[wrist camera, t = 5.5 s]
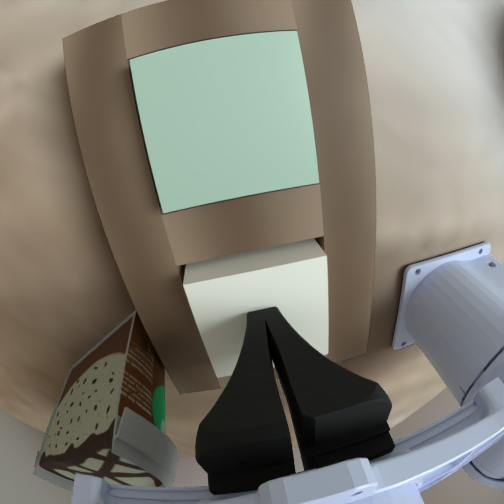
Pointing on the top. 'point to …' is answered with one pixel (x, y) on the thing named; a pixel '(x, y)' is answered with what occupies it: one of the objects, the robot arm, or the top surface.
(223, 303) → the cream key
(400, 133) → the top surface
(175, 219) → the key console
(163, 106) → the sage key
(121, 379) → the food container
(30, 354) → the top surface
